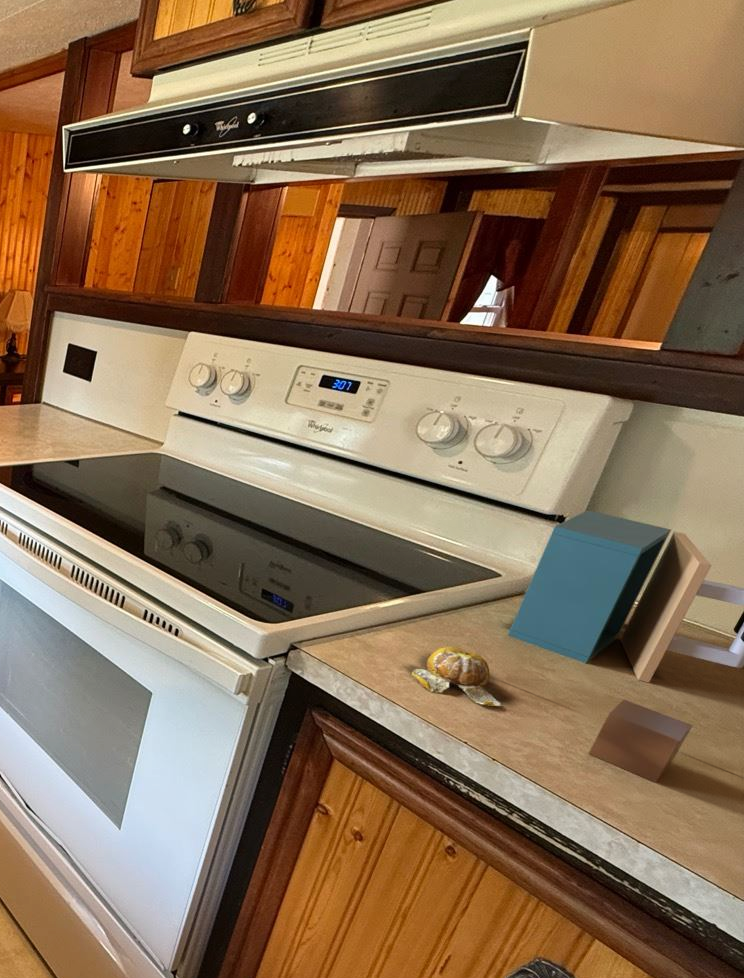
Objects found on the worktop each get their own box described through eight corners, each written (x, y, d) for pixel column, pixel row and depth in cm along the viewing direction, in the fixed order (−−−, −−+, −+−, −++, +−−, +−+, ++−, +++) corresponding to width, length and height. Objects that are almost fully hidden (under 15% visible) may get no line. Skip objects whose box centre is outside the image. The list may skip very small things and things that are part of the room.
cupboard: (616, 638, 98) (671, 529, 92) (585, 664, 91) (642, 548, 85) (541, 613, 104) (587, 510, 98) (507, 636, 98) (554, 526, 92)
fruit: (411, 685, 85) (421, 658, 84) (411, 656, 92) (421, 631, 90) (501, 712, 81) (514, 684, 80) (495, 680, 87) (507, 654, 86)
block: (669, 765, 73) (693, 725, 71) (656, 783, 71) (679, 741, 69) (603, 738, 77) (623, 699, 75) (588, 753, 75) (608, 713, 73)
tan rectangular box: (701, 659, 93) (763, 547, 88) (729, 704, 84) (801, 582, 78) (619, 639, 98) (673, 531, 92) (637, 679, 88) (699, 562, 82)
